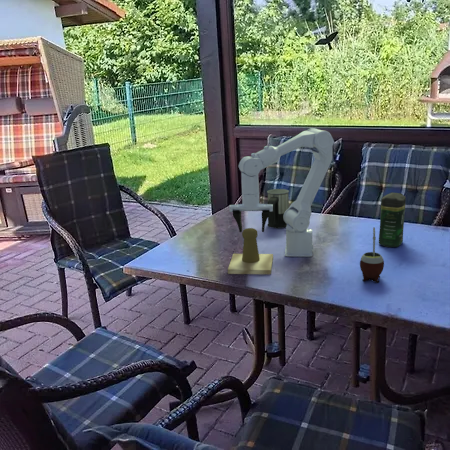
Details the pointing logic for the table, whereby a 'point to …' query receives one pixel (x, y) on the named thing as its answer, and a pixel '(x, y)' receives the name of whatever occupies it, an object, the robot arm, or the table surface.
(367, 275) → the mate gourd
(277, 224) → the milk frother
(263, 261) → the birch base board
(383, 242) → the coffee jar
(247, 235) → the cork
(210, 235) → the table surface
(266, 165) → the robot arm
